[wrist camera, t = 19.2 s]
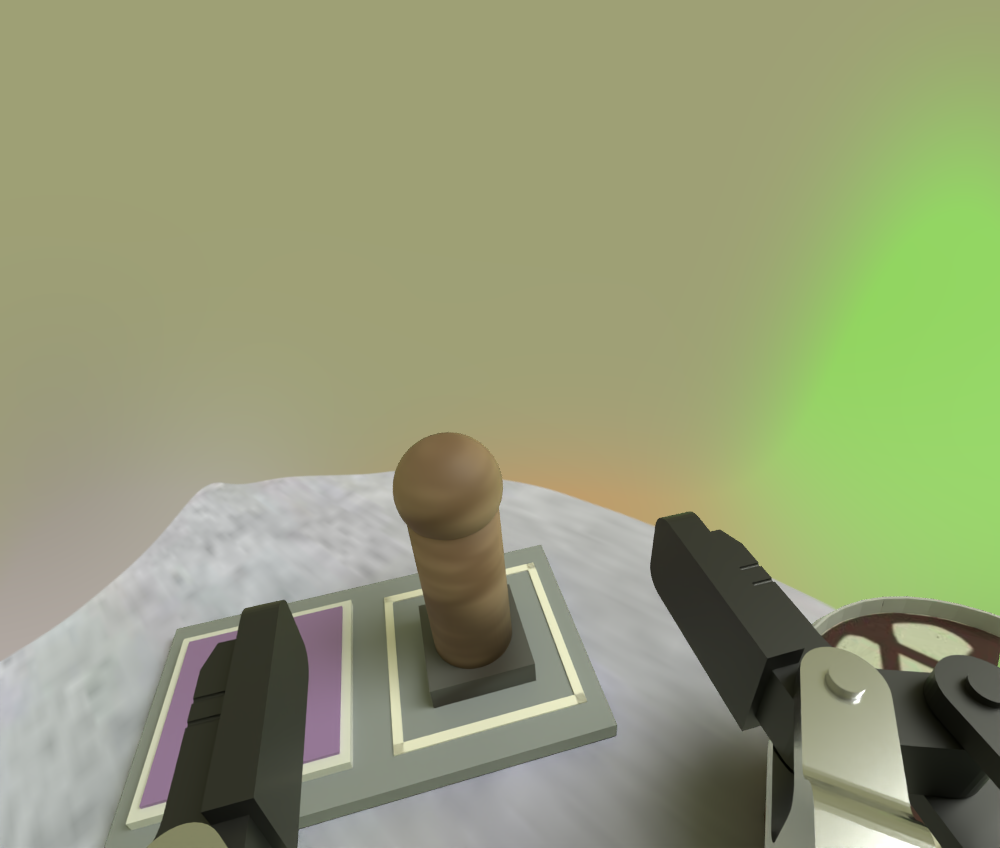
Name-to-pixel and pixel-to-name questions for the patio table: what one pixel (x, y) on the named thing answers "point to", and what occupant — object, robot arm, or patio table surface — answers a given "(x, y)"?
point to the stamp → (461, 568)
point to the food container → (911, 635)
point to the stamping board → (385, 702)
